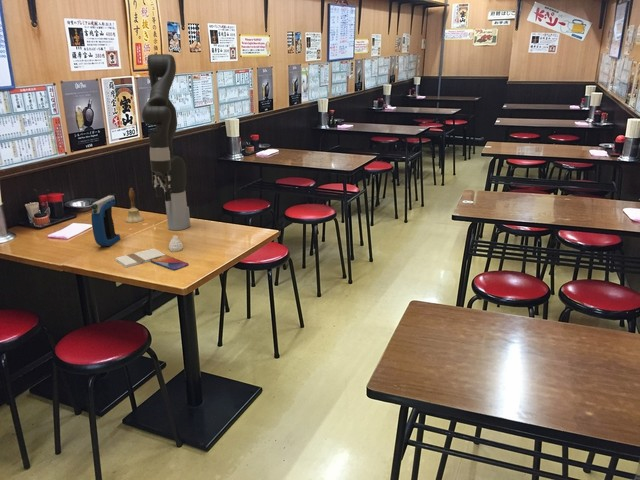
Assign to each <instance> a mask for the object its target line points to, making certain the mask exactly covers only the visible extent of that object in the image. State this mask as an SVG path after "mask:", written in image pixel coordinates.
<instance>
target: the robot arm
mask: <svg viewBox="0 0 640 480" xmlns="http://www.w3.org/2000/svg"><path fill="white" fill-rule="evenodd" d="M146 61H147V70H148V76H149V82H150V83H149V84H150V88H151V89H150V92H149V97H148V98H149V99H148V100H147V102H146V103H145V105H144V107H143V109H142V111H141V118H142V121H143V122H144V124H146V125H147V126H155V130H154V131H151V132H149V135H148V141H149V142H148V143H149V159H150V161H149V162H150V170H151V185H152V187H154V189H155V190H154V191H155V197H156V198H162V196H163V195H162V189H163V193H164V202H165V210H166V212H165V213H166V220H167V228H168V229H169V230H171V231H182V230H185V229H188V228H190V227H191V218H190V217H191V216H190V206H188V203H187V194H186V192H187V191H186V186H187V168H186V163H185V161H184V159H183V158H182V157H181V156H177V155H174V151H173V139H174V137H175V134H176V131H177V127H178V117H177V110H176V107H175V106H174V104H173V102H172V100H170V98H169V95H170V91H171V87H172V85H173V83H174V79H175V76H176V74H177V73H176V72H177V64H176V63H177V62H176V59H175V57H174V56H173V55H172V54H168V53H163V54H161V53H159V54H156V53H155V54H154V53H153V54H149V55H148V56H147V60H146Z"/></svg>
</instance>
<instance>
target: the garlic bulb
mask: <svg viewBox="0 0 640 480" xmlns="http://www.w3.org/2000/svg"><path fill="white" fill-rule="evenodd" d="M183 247H184V246H183V243H182V241H181V240H180V239H179V237H178V235H173V236H172V238H171V239H170V242H169V243H168V249H169V250H170V251H171V252H173V253H174V252H179V251H182V250H183Z"/></svg>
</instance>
